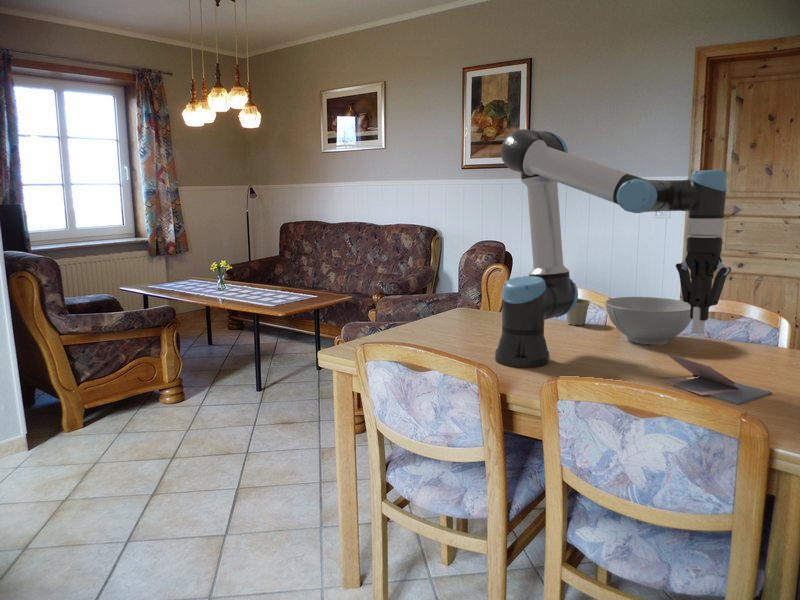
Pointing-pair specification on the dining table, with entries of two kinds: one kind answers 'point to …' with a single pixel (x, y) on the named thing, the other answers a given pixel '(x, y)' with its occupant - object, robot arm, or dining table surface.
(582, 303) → the flower pot
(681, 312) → the decorative bowl
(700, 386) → the mat
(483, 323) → the dining table surface
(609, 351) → the dining table surface
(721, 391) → the greeting card
